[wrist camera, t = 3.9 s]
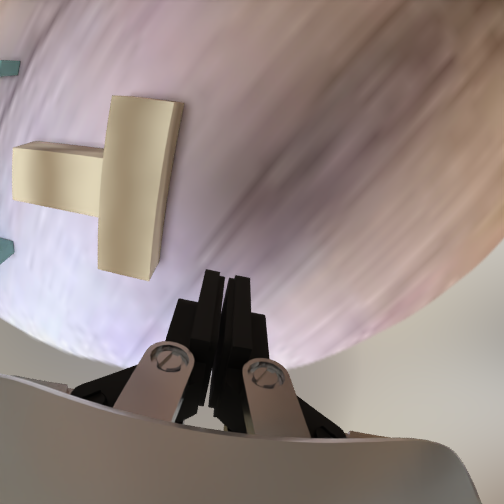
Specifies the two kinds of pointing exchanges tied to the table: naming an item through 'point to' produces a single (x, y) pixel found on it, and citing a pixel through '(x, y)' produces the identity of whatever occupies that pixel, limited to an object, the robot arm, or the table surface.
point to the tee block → (110, 181)
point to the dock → (3, 248)
